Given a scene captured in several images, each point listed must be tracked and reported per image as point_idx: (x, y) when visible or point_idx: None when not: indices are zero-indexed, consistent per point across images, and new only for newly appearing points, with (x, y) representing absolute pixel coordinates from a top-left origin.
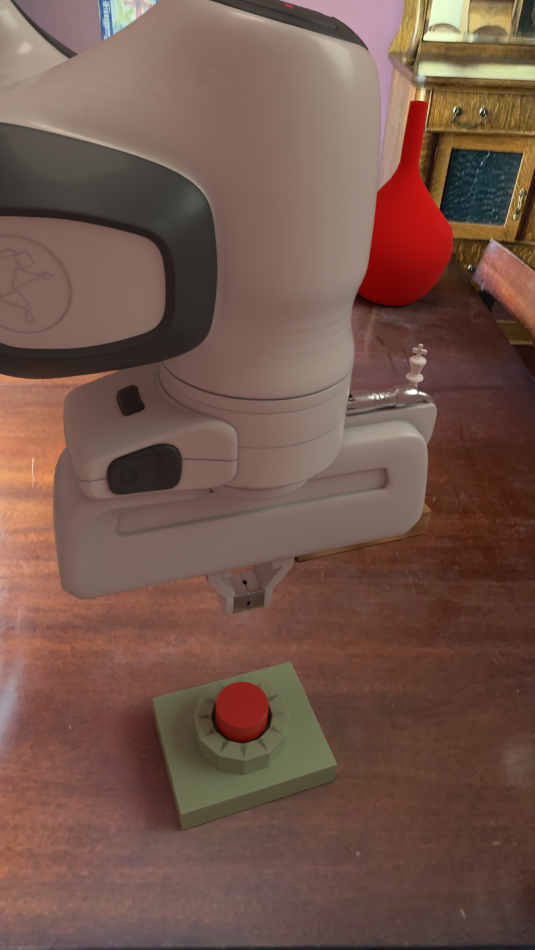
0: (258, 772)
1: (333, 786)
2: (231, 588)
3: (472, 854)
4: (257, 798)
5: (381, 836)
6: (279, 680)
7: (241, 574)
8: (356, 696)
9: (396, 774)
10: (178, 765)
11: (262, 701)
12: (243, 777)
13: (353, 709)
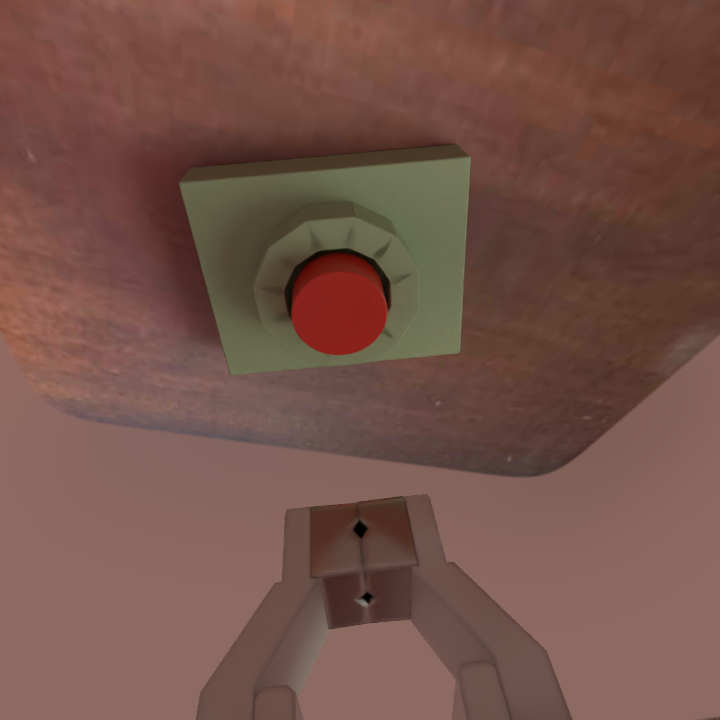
0: None
1: None
2: (316, 645)
3: (555, 422)
4: None
5: (472, 393)
6: (431, 197)
7: (365, 578)
8: (552, 210)
9: (533, 335)
10: (228, 315)
11: (376, 319)
12: None
13: (534, 232)
